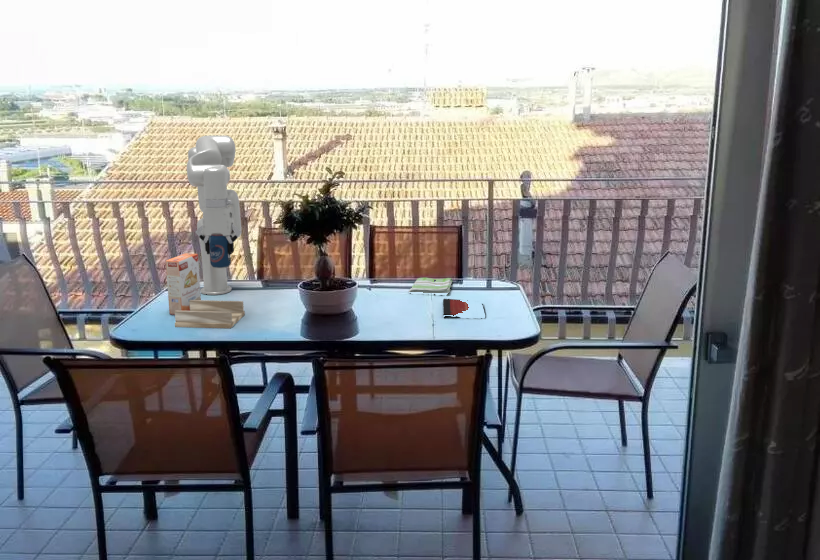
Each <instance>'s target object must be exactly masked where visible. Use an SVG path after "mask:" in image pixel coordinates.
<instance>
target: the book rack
mask: <svg viewBox="0 0 820 560" xmlns="http://www.w3.org/2000/svg"><path fill="white" fill-rule="evenodd" d="M189 304H190V311H179V310H176V311H175V315H174V319H175V322H174V327H175V328H194V329H197V328H200V329H201V328H202V329H203V328H204V329H205V328H206V329H211V328H212V329H231V328H233V327H234V326H235V325H236V324H237V323H238V322H239V321H240V320H241V319H242V318H243V317H244V316H245V314H246V312H245V310H244V309H245V308H244V300H211V299H209V300H207V299H201V300H190V301H189ZM234 324H235V325H234Z"/></svg>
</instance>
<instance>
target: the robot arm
mask: <svg viewBox="0 0 820 560" xmlns="http://www.w3.org/2000/svg"><path fill="white" fill-rule="evenodd" d="M236 151H237V150H236V144H235V141H234V139H233V138H232V137H231V136H230V135H203V136H200V137H198V138H197V140H196V142H195V147H192V148H191V147H190V148H189V150H188V151H187V157H188V158H187V159H188V160H187V163H186V176H187V181H188V183H189V184H190V185H191V186H192V187H194V188H195V187H196V188H197V199H198V207H199V210H200V211H201V212H202V218H200V219H199V220H197V223H196V230H195V234H196V235H197V236H198V238H199V244H200V254H201V266H202V267H201V268H202V278H203V279H202V280H203V287H202V288H201V287H200V294H202V295H206V294H207V296H208V295H211V296H217V295H223V294H227V293H230V292H231V291H232V287H231V286H230V285H228V281H229V278H228V276H227V272H228V271H227V268H213V267H212V265H211V264H210V249H209V237H210V236H211V234H213V235H223V236H226V238H227V240H228V241H229V243H228V254H229V255H230V256H231V255H232V254H233V253H234V251H235V247H234V243H235V242H236V240H237V239H238V238H240V237H241V236H242V220H241V219H242V218H241V208H240V200H239V195H238V193H237V192H236V190H233V189H227V188H228V186H227V185H228V184H229V182H230V179H231V172H230V169H228V168H230V167H232V166H233V165H234V162H235V157H236Z"/></svg>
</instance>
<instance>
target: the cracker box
mask: <svg viewBox="0 0 820 560" xmlns="http://www.w3.org/2000/svg"><path fill="white" fill-rule="evenodd" d="M165 272H166V283H167V299H168V309H169V310H168V311H169V315H172V316H173V315H174V316H175V311H176V310H179V311H190V304H189V301H190V300H202V297H201V294H202V293H201V292H200V289H201V282H200V281H201V280H200V279H201V278H200V265H199V254H198V253H190V252H189V253H188V252H186V253H183V254H180V255H178V256H177V255H176V256H175V257H172V258H169V259H166V260H165Z"/></svg>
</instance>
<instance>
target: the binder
mask: <svg viewBox="0 0 820 560" xmlns="http://www.w3.org/2000/svg"><path fill="white" fill-rule="evenodd" d="M460 300H461V299H454V298H453V299H452V298H443V300H442V305H443V306H442V307H443V308H442V310H443V311H442V312H443V313H442V316H443V315H453V316H454V315H456V314H458V313H463V312H462V311H466V310H468V308H469V307H468V304H467V303H466V302H462V301H460Z"/></svg>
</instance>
